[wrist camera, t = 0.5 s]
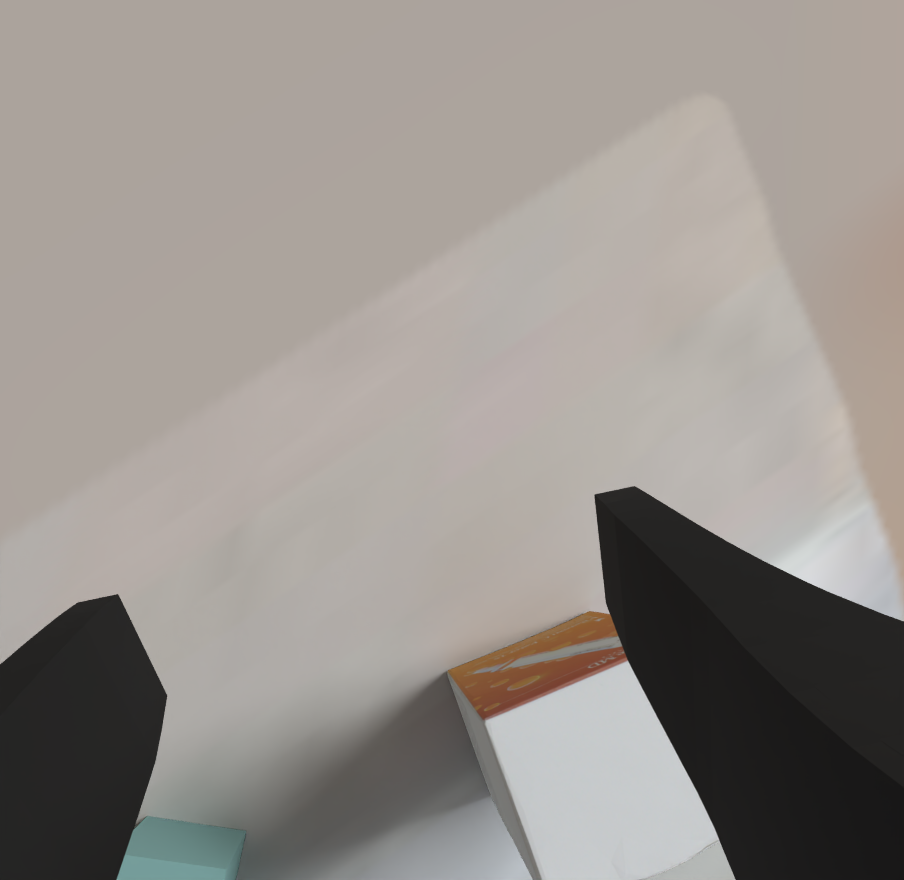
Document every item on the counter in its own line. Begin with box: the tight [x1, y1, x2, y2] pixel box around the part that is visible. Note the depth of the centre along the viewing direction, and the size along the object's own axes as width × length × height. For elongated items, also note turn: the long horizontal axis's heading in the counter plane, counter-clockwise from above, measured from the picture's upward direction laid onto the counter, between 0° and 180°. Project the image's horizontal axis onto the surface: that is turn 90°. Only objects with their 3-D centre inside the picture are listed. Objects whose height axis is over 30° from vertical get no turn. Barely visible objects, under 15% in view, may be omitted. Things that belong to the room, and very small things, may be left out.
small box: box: [447, 611, 720, 880], centre depth 28 cm, size 8×6×13 cm
